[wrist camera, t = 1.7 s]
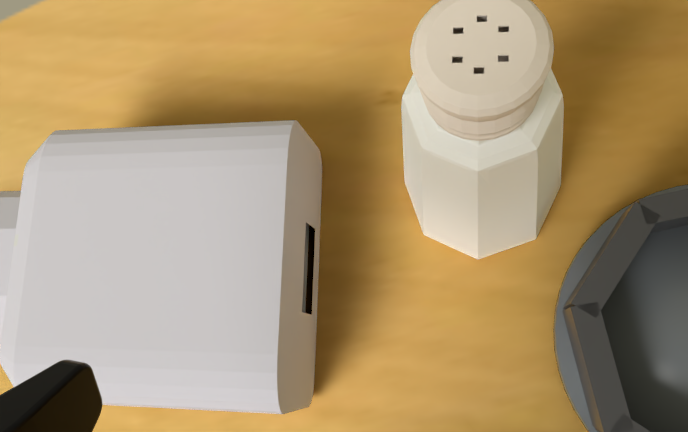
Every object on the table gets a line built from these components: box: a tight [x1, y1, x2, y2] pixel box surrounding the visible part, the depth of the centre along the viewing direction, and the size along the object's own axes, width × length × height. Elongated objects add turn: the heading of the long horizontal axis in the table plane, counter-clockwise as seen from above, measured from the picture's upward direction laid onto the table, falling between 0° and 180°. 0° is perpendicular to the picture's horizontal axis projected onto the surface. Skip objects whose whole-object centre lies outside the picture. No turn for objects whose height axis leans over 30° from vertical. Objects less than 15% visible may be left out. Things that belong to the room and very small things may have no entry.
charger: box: [0, 120, 322, 414], centre depth 23 cm, size 5×9×15 cm
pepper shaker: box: [401, 0, 564, 259], centre depth 18 cm, size 5×5×11 cm
